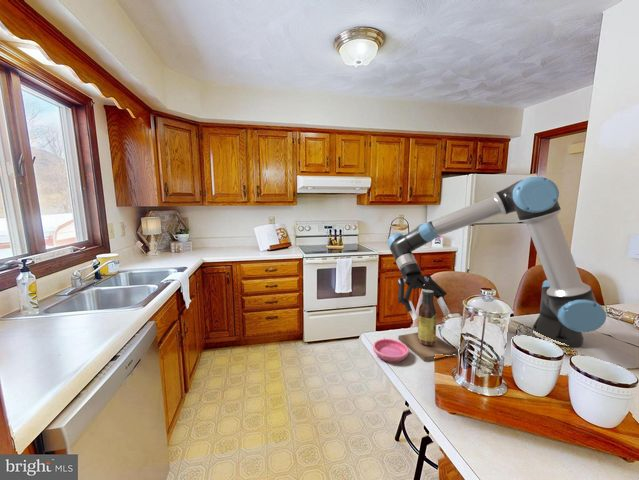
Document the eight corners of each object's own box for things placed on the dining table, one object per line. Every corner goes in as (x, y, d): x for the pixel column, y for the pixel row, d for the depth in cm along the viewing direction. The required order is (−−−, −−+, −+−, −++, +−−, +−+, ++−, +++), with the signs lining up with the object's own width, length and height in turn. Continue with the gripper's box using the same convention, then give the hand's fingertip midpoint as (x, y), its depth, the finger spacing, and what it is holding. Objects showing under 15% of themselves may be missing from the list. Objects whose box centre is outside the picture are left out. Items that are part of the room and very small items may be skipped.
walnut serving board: (428, 334, 112) (428, 330, 111) (457, 354, 96) (458, 350, 96) (398, 339, 108) (398, 335, 108) (424, 361, 93) (424, 357, 92)
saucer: (398, 344, 104) (398, 336, 104) (415, 362, 92) (416, 354, 92) (367, 348, 102) (367, 340, 101) (381, 367, 90) (381, 358, 89)
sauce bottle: (437, 347, 98) (439, 294, 96) (419, 345, 99) (421, 293, 97) (433, 339, 105) (435, 289, 102) (416, 337, 106) (418, 288, 104)
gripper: (429, 269, 117) (454, 316, 105) (377, 274, 110) (397, 325, 98) (439, 260, 111) (466, 308, 99) (384, 264, 104) (406, 317, 92)
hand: (432, 317), depth 98 cm, fingers open, 13 cm apart
